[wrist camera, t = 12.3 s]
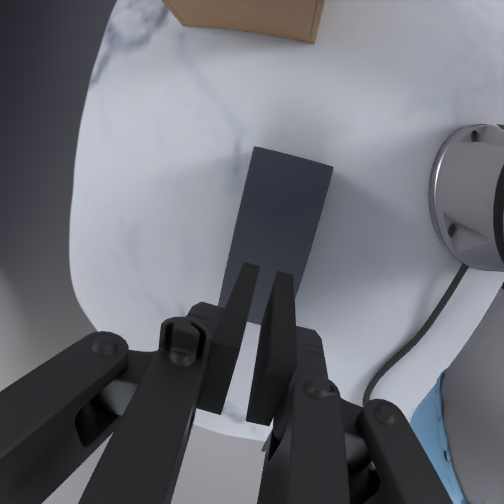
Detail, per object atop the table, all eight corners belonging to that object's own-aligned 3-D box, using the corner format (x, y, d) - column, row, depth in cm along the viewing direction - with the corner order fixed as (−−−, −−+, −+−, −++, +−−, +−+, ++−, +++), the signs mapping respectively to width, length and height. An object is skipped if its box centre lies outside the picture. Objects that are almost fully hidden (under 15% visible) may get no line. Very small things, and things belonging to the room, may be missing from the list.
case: (284, 304, 30) (284, 331, 25) (226, 290, 30) (216, 313, 25) (324, 166, 26) (333, 166, 21) (259, 149, 26) (254, 146, 21)
